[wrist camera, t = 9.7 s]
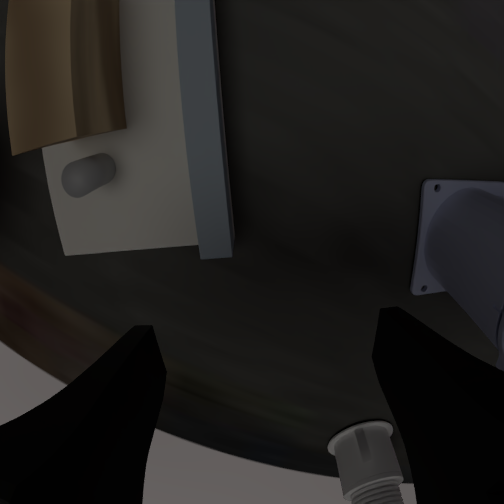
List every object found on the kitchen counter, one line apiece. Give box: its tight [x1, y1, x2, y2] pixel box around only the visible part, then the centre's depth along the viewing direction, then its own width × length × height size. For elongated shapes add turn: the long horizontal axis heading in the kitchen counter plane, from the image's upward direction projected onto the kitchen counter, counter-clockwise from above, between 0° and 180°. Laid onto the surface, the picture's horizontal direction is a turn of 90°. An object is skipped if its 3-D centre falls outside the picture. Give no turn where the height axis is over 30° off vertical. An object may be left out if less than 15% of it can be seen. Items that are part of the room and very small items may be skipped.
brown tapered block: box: [5, 0, 127, 156], centre depth 11 cm, size 4×8×6 cm, turn 4°
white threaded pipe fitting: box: [328, 421, 404, 504], centre depth 23 cm, size 8×7×10 cm
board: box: [42, 0, 235, 259], centre depth 14 cm, size 11×18×4 cm, turn 4°
